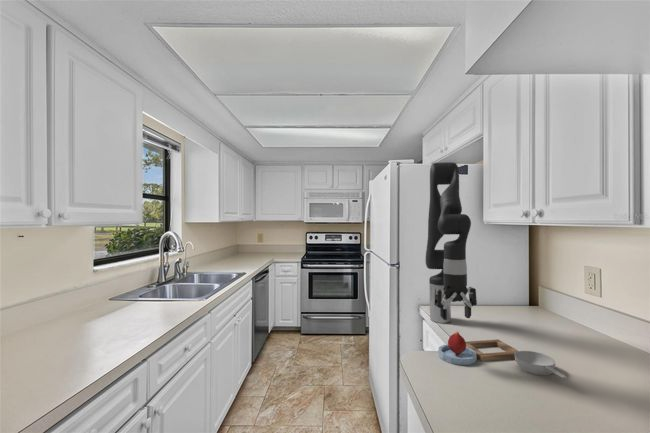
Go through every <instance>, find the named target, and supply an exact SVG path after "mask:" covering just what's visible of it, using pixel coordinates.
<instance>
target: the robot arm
mask: <svg viewBox="0 0 650 433" xmlns="http://www.w3.org/2000/svg"><path fill="white" fill-rule="evenodd" d="M439 185H441V186H442V185H445V186H446V185H447V187H446V188H445V189H444V190H443V192H442V193H440V191H439V189H438V188H439V187H438V186H439ZM461 202H462V201H461V198H460V171H459V166H458V164H457V163H456V162H452V161H451V162H448V161H447V162H433V163H431V165H430V169H429V206H428V207H429V208H428V219H427V242H426V251H425V265H426V268H427V269H429V270H441V271H440V272H438V273H436V274H435V275H431V276H430V277H429V279H428V280H429V282H428V283H429V319H430V321H432V322H433V323H439V324H447V323H450V322H452V309H451V308H452V306H451V303H455V302H462V303H463V305H464V317H465V318H467V319H471V317H472V307H473V306H477V305H478V302H477V301H478V300H477V290H476V288H474V287H472V286H469V287H468V266H467V259H466V258H467V257H466V256H467V255H466V253H467V252H466V251H467V250H466V249H467V240H468V237H469V234H470V231H471V227H472V221H471V218H470V217H469V215H467V214H465V213H464V214H463V213H462V212H463V207H462V203H461ZM445 235H449V236H450V235H459V236H458V238H456V239H455V240H454V239H453V240H451V241H450V240H449V241H446V242H444V244H443V249H436V247H437V245H438V244H439V242H440V240H441V239H442V237H444V236H445ZM467 294H468V297H467V296H466V295H467ZM468 298H469V299H468Z"/></svg>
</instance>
